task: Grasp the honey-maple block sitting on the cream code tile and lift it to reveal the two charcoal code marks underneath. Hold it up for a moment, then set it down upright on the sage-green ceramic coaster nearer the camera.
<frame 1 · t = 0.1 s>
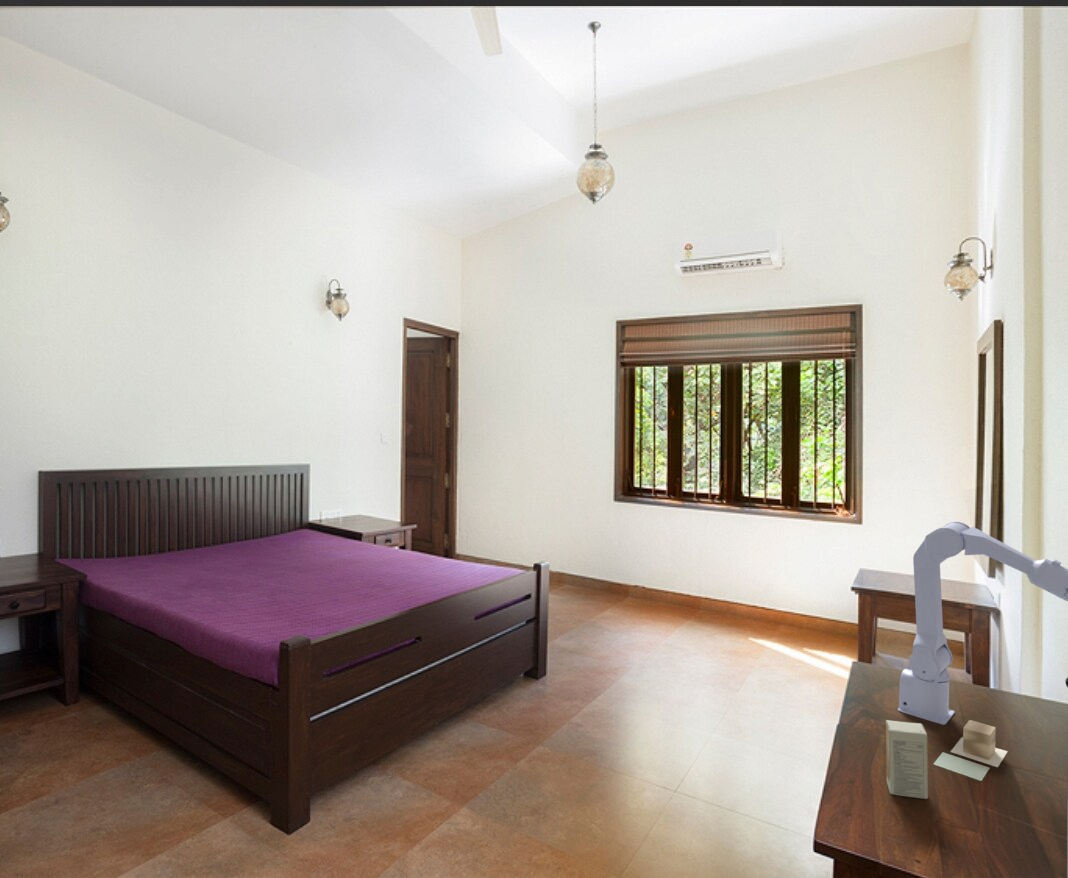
code tile: (978, 752, 133), on the table
maple block: (979, 751, 133), resting on code tile
sage coaster: (961, 767, 128), on the table
skincare box: (905, 791, 121), on the table
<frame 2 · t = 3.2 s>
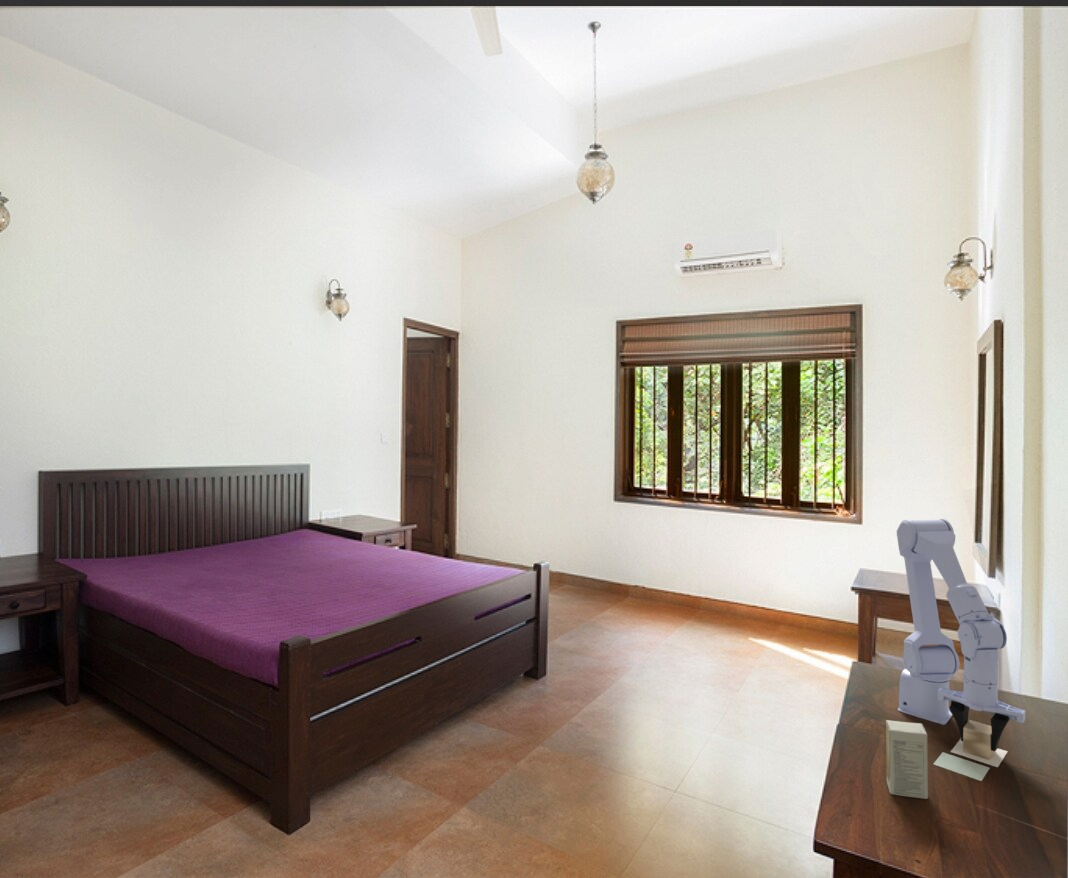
hand: (979, 744, 133), 2 cm above the table, fingers closed on maple block, 4 cm apart
maple block: (979, 751, 133), resting on code tile, touching gripper
everything else where it was.
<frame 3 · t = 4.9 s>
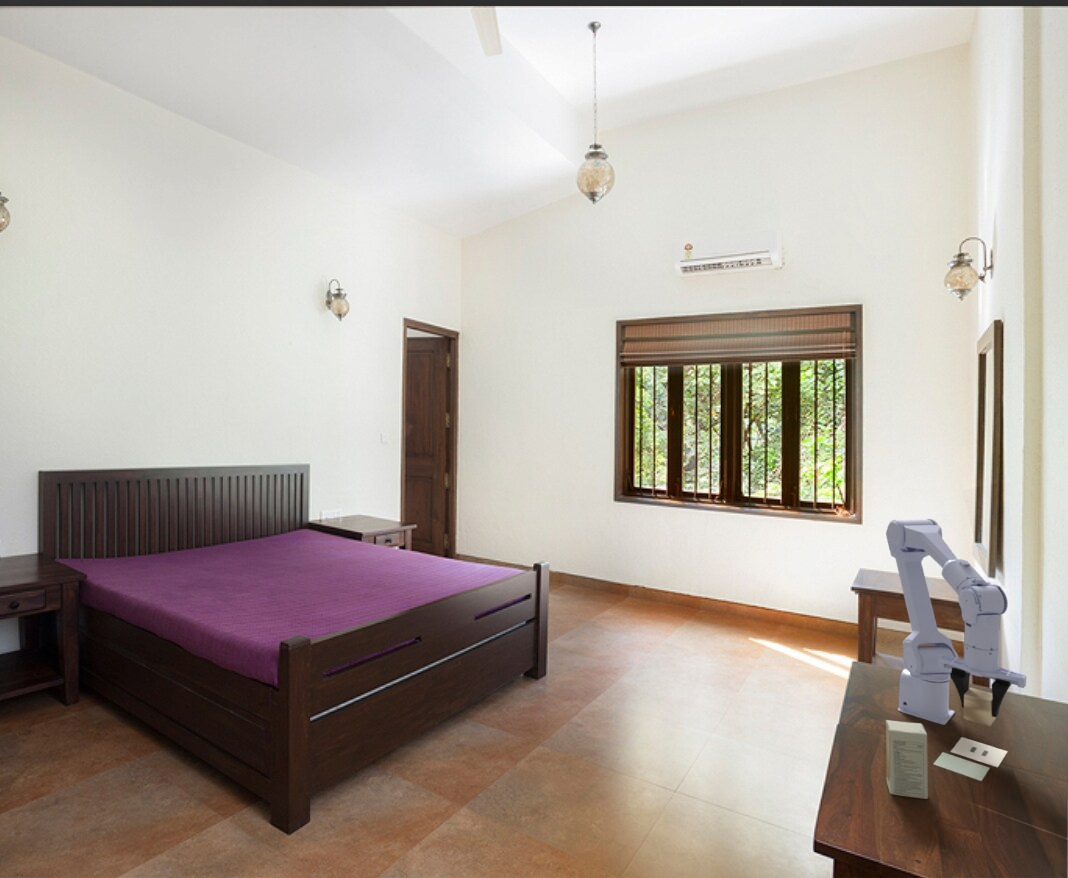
hand: (979, 710, 133), 9 cm above the table, fingers closed on maple block, 4 cm apart
maple block: (979, 718, 133), point 7 cm above the table, touching gripper
everything else where it was.
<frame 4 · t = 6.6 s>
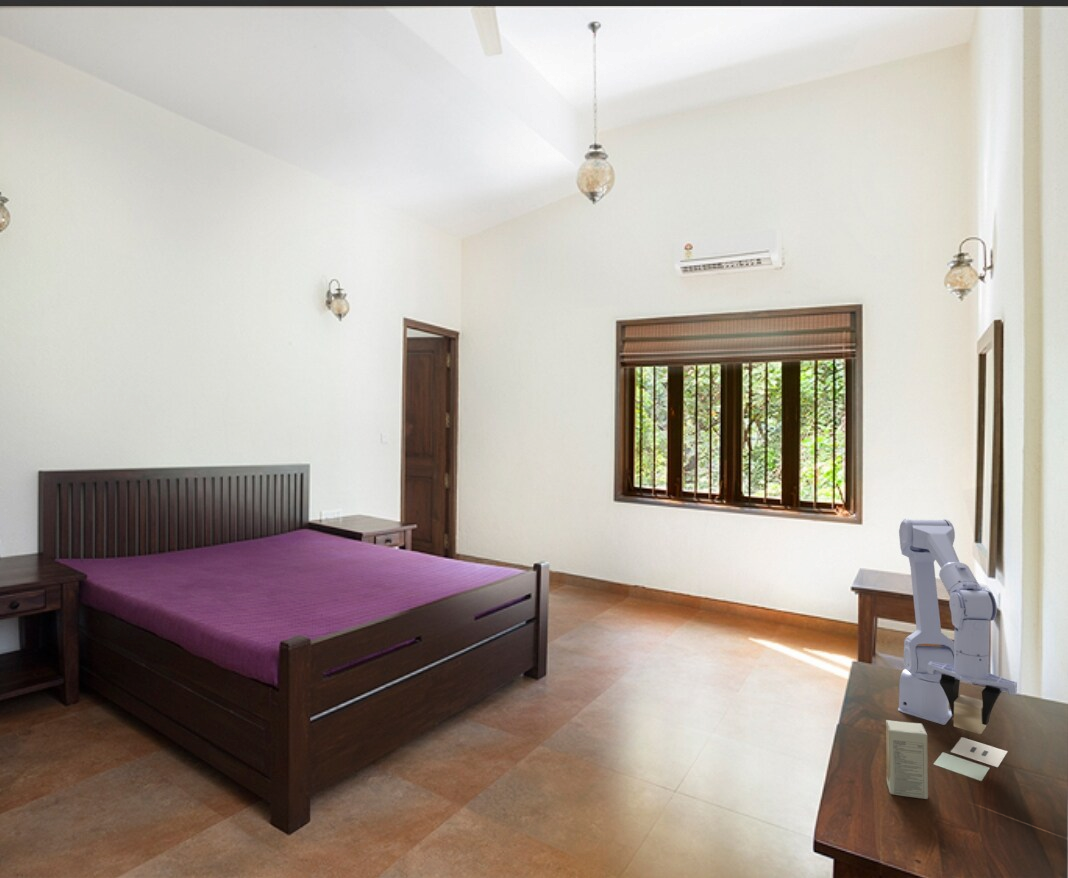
hand: (970, 718, 130), 9 cm above the table, fingers closed on maple block, 4 cm apart
maple block: (970, 726, 130), point 7 cm above the table, touching gripper
everything else where it was.
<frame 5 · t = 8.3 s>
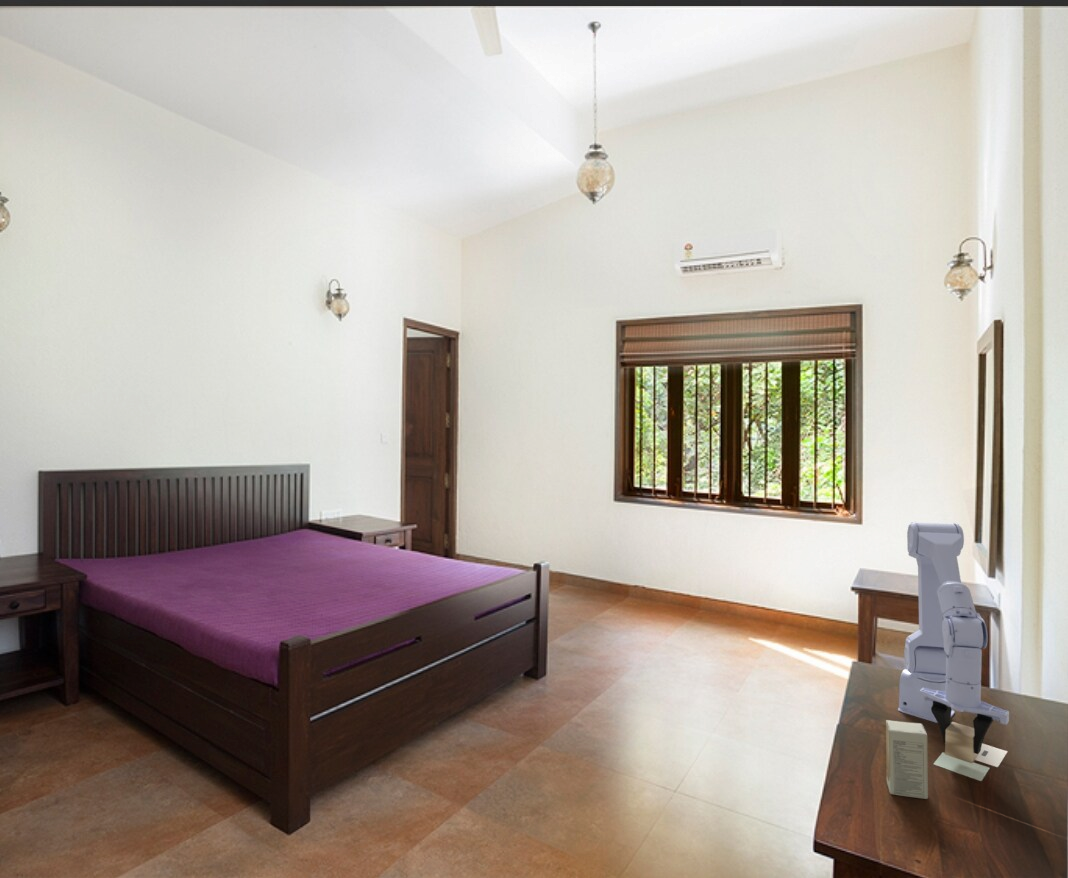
hand: (961, 746, 128), 4 cm above the table, fingers closed on maple block, 4 cm apart
maple block: (961, 754, 128), point 3 cm above the table, touching gripper
everything else where it was.
when the fingers open (2 cm above the table, at t = 9.9 s): maple block stays where it is, resting on sage coaster.
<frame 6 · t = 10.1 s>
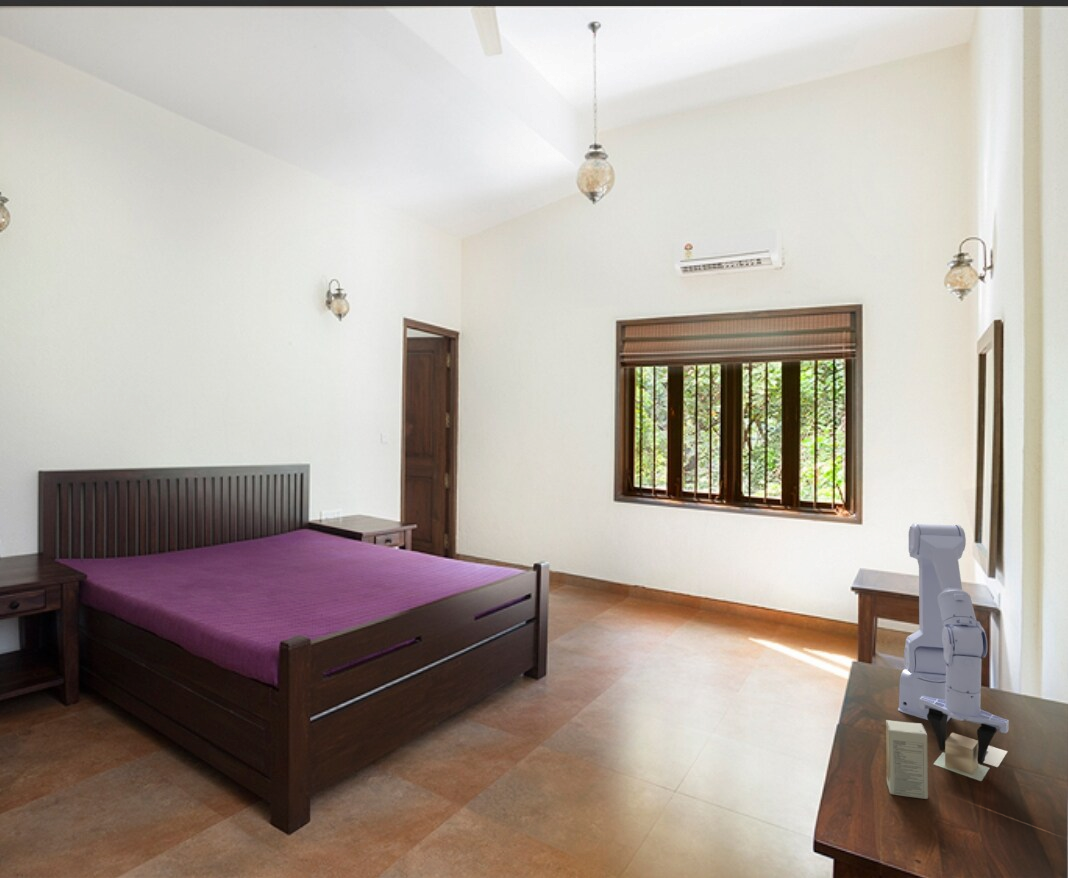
hand: (961, 754, 128), 3 cm above the table, fingers open, 6 cm apart
maple block: (961, 765, 128), resting on sage coaster
everything else where it was.
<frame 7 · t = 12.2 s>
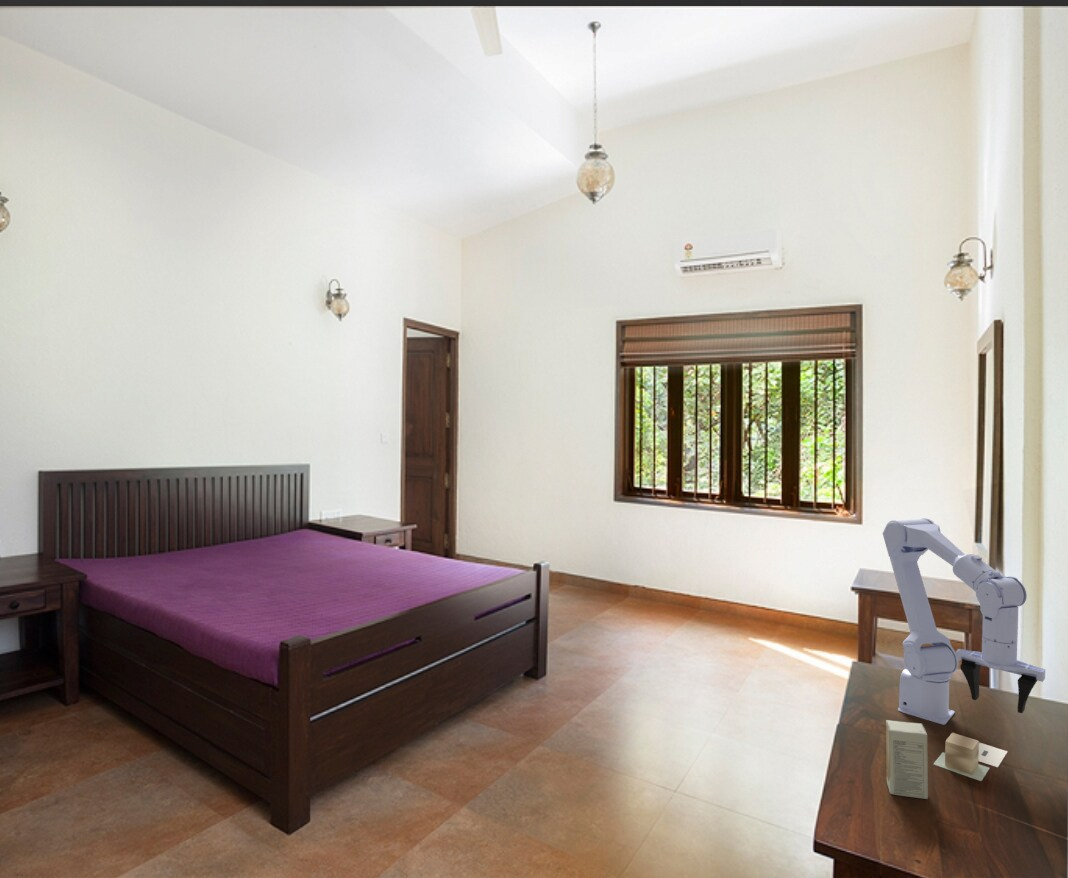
hand: (997, 704, 132), 10 cm above the table, fingers open, 7 cm apart
nothing on the table moved.
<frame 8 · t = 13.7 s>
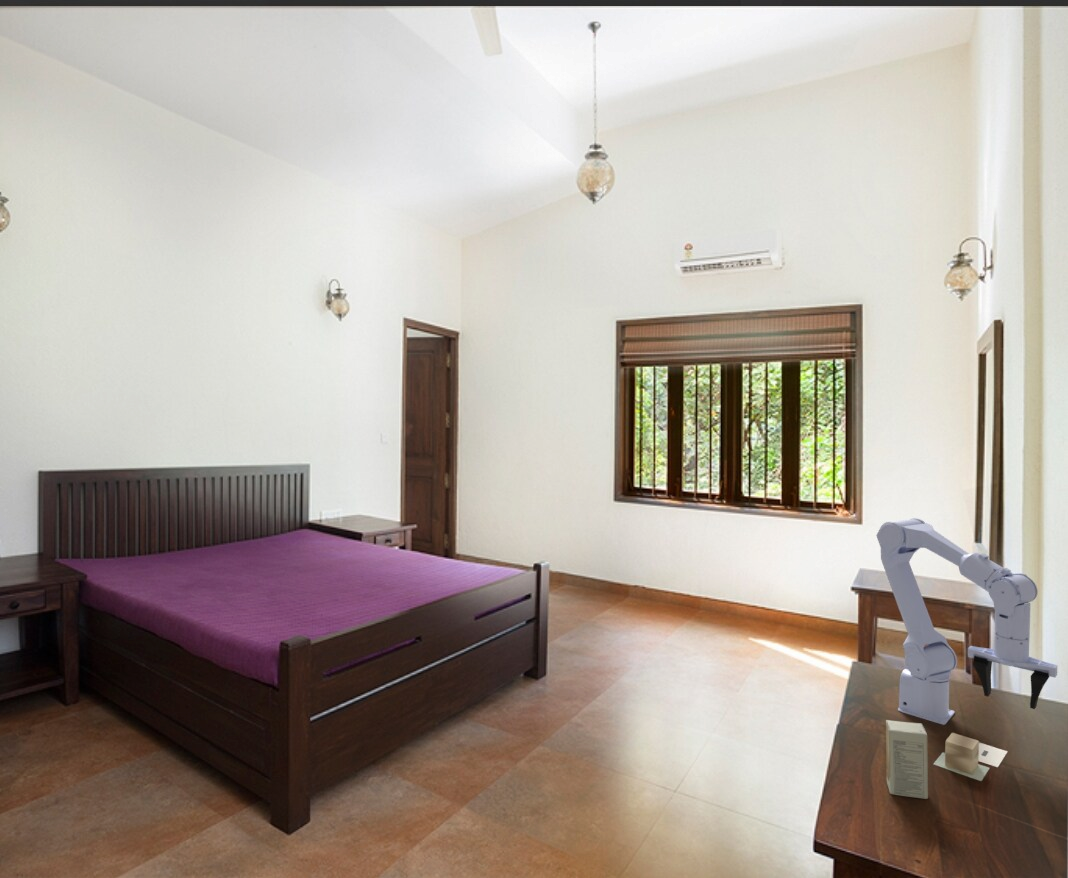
hand: (1010, 700, 133), 10 cm above the table, fingers open, 7 cm apart
nothing on the table moved.
at the end: maple block 0.1 cm off-centre on the sage coaster, point 0.3 cm above the sage coaster's base; maple block tilted 0°; the gripper is holding nothing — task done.
